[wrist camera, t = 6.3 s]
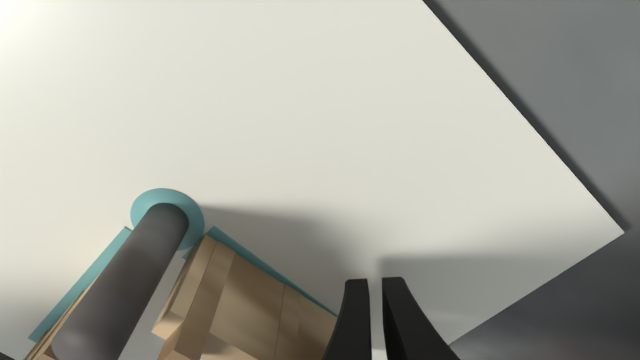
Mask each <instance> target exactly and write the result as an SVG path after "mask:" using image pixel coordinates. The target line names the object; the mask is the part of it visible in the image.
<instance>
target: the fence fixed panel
mask: <svg viewBox="0 0 640 360" xmlns="http://www.w3.org/2000/svg"><path fill="white" fill-rule="evenodd" d="M188 228H189V220H188V217H187V215H186V214H185V212H184V211H183V210H182V209H181V208H179V207H178V206H176V205H173V204H170V203H157V204H155V205H153V206H151V207H150V208H149V209H148V211H147V212H146V213H145V215H144V216H143V217H142V219H141V220H140V221H139V223H138V224H137V225H136V227H135V228H134V229H133V231H132V232H131V233H130V235H129V236H128V238H127V239H126V240H125V242H124V243H123V244H122V246H121V247H120V248H119V250H118V251H117V252H116V254H115V255H114V256H113V257H112V259H111V260H110V261H109V263H108V264H107V265H106V267H105V268H104V269H103V271H102V272H101V273H100V274H99V275H98V276H97V277H96V278H95V279H94V281H93V282H92V283H91V284H90V285H89V286H88V287H87V288H86V290H85V291H84V290H83V291H82V292H81V293H80V294H79V295H78V296H77V297H76V299H75V300H74V301H73V302H72V303H71V305H70V306H69V307H68V309H67V310H66V311H65V313H64V314H63V315H62V316H61V317H60V319H59V320H58V321H57V322H56V323H55V324H54V325H53V326H52V327H51V329H50V330H49V331H46V332H45V333H44V334H43V335H42V337H41V338H40V339H39V340H38V341H37V343H36V344H35V345H34V346H33V348H32V349H31V350H30V352H29V353H28V354H27V355H26V357H25V358H24V359H23V360H118V359H119V357H120V355H121V353H122V351H123V349H124V347H125V346H126V344H127V342H128V340H129V338H130V336H131V334H132V333H133V331H134V329H135V327H136V325H137V323H138V321H139V320H140V318H141V316H142V314H143V312H144V310H145V308H146V307H147V305H148V303H149V301H150V299H151V297H152V295H153V294H154V292H155V290H156V288H157V286H158V284H159V282H160V281H161V279H162V277H163V275H164V273H165V271H166V269H167V267H168V266H169V264H170V262H171V260H172V258H173V256H174V254H175V253H176V251H177V249H178V247H179V245H180V243H181V241H182V240H183V238H184V236H185V234H186V232H187V230H188Z"/></svg>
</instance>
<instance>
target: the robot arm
mask: <svg viewBox="0 0 640 360" xmlns="http://www.w3.org/2000/svg"><path fill="white" fill-rule="evenodd" d="M382 314H383V331H384V339H385V347H386V355H387V360H460V359H459V358H458V357H457V356H456V354H455V353H454V352H453V351H452V350H451V348H450V347H449V346H448V345H447V343H446V342H445V341H444V340H443V339H442V337H441V336H440V335H439V333H438V332H437V331H436V329H435V328H434V327H433V325H432V324H431V322H430V321H429V320H428V318H427V317H426V315H425V314H424V312H423V311H422V309H421V308H420V306H419V305H418V303H417V302H416V300H415V298H414V297H413V295H412V293H411V292H410V290H409V288H408V286H407V284H406V282H405V280H404V279H403V278H402V277H384V278H382ZM321 360H372V343H371V318H370V294H369V287H368V281H367V278H365V279H348V280H347V281H346V282H345V289H344V295H343V300H342V304H341V308H340V312H339V315H338V318H337V321H336V324H335V327H334V330H333V333H332V336H331V338H330V340H329V343H328V345H327V348H326V350H325V353H324V355H323V357H322V359H321Z"/></svg>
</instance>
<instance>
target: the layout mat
mask: <svg viewBox="0 0 640 360" xmlns="http://www.w3.org/2000/svg"><path fill="white" fill-rule="evenodd" d="M157 203H170V204H173V205H176V206H178V207H179V208H181V209H182V210H183V211H184V212H185V214H186V215H187V217H188V220H189V228H188V230H187V232H186V234H185V236H184V238H183V240H182V241H181V243H180V245H179V247H178V249H177V251H176V253H175V254H174V256H173V258H172V260H171V262H170V264H169V266H168V267H167V269H166V271H165V273H164V275H163V277H162V279H161V281H160V282H159V284H158V286H157V288H156V290H155V292H154V294H153V295H152V297H151V299H150V301H149V303H148V305H147V307H146V308H145V310H144V312H143V314H142V316H141V318H140V320H139V321H138V323H137V325H136V327H135V329H134V331H133V333H132V334H131V336H130V338H129V340H128V342H127V344H126V346H125V347H124V349H123V351H122V353H121V355H120V357H119V359H118V360H157V358H158V356H159V353H160V351H161V349H162V346H163V344H164V342H165V339H163V338H161V337H159V336H157V335H155V334H154V333H152V332H151V331H152V329H153V327H154V325H155V323H156V321H157V318H158V316H159V314H160V312H161V310H162V308H163V306H164V304H165V302H166V300H167V298H168V296H169V294H170V292H171V290H172V288H173V286H174V284H175V282H176V280H177V278H178V275H179V273H180V271H181V269H182V267H183V265H184V263H185V261H186V259H187V257H188V255H189V253H190V252H191V250H192V249H193V248H194V247H195V246H196V245H197V243H198V242H199V241H200V240H201V239H202V238H203V236H204V235H205V234H207V235H208V236H210V237H211V238H213V239H214V240H216V241H220V242H222V243H223V244H225V245H226V246H228V247H229V248H231V249H233V250H234V251H236V252H235V253H237V254H238V255H240V256H241V257H243V258H244V259H246V260H248V261H249V262H251V263H252V264H254V265H255V266H257V267H259V268H260V269H262V270H263V271H265V272H266V273H268V274H270V275H271V276H273V277H274V278H276V279H277V280H279V281H281V282H282V283H284V284H285V283H286V284H287V285H289V286H291V287H292V288H294V289H295V290H297V291H298V292H300V293H301V295H303V296H304V297H306V298H307V299H309V300H310V301H312V302H314V303H315V304H317V305H318V306H320V307H321V308H323V309H325V310H326V311H328V312H329V313H331V314H332V315H334V316H336V317H337V318H338V315H339V312H340V308H341V304H342V300H343V295H344V289H345V282H346V281H347V280H348V279H365V278H367V281H368V287H369V294H370V318H371V343H372V360H387V355H386V347H385V339H384V331H383V314H382V278H384V277H402V278H403V279H404V280H405V282H406V284H407V286H408V288H409V290H410V292H411V293H412V295H413V297H414V298H415V300H416V302H417V303H418V305H419V306H420V308H421V309H422V311H423V312H424V314H425V315H426V317H427V318H428V320H429V321H430V322H431V324H432V325H433V327H434V328H435V329H436V331H437V332H438V333H439V335H440V336H441V337H442V339H443V340H444V341H445V342H446V343H447V345H449V344H450V343H452V342H453V341H455V340H456V339H458V338H460V337H461V336H463V335H464V334H466V333H467V332H469V331H471V330H472V329H474V328H475V327H477V326H478V325H480V324H482V323H483V322H485V321H486V320H488V319H490V318H491V317H493V316H494V315H496V314H497V313H499V312H501V311H502V310H504V309H505V308H507V307H508V306H510V305H512V304H513V303H515V302H516V301H518V300H519V299H521V298H523V297H524V296H526V295H527V294H529V293H531V292H532V291H534V290H535V289H537V288H538V287H540V286H542V285H543V284H545V283H546V282H548V281H549V280H551V279H553V278H554V277H556V276H557V275H559V274H560V273H562V272H564V271H565V270H567V269H568V268H570V267H572V266H573V265H575V264H576V263H578V262H579V261H581V260H583V259H584V258H586V257H587V256H589V255H590V254H592V253H594V252H595V251H597V250H598V249H600V248H601V247H603V246H605V245H606V244H608V243H609V242H611V241H613V240H614V239H616V238H617V237H619V236H620V235H622V234H624V231H623V230H622V229H621V228H620V227H619V226H618V225H617V223H616V222H615V221H614V220H613V219H612V218H611V217H610V215H609V214H608V213H607V212H606V211H605V210H604V208H603V207H602V206H601V205H600V204H599V203H598V202H597V200H596V199H595V198H594V197H593V196H592V195H591V194H590V192H589V191H588V190H587V189H586V188H585V187H584V186H583V184H582V183H581V182H580V181H579V180H578V179H577V177H576V176H575V175H574V174H573V173H572V172H571V171H570V169H569V168H568V167H567V166H566V165H565V164H564V163H563V161H562V160H561V159H560V158H559V157H558V156H557V155H556V153H555V152H554V151H553V150H552V149H551V148H550V147H549V145H548V144H547V143H546V142H545V141H544V140H543V138H542V137H541V136H540V135H539V134H538V133H537V132H536V130H535V129H534V128H533V127H532V126H531V125H530V124H529V122H528V121H527V120H526V119H525V118H524V117H523V116H522V114H521V113H520V112H519V111H518V110H517V109H516V107H515V106H514V105H513V104H512V103H511V102H510V101H509V99H508V98H507V97H506V96H505V95H504V94H503V93H502V91H501V90H500V89H499V88H498V87H497V86H496V85H495V83H494V82H493V81H492V80H491V79H490V78H489V77H488V75H487V74H486V73H485V72H484V71H483V70H482V68H481V67H480V66H479V65H478V64H477V63H476V62H475V60H474V59H473V58H472V57H471V56H470V55H469V54H468V52H467V51H466V50H465V49H464V48H463V47H462V46H461V44H460V43H459V42H458V41H457V40H456V39H455V37H454V36H453V35H452V34H451V33H450V32H449V31H448V29H447V28H446V27H445V26H444V25H443V24H442V23H441V21H440V20H439V19H438V18H437V17H436V16H435V15H434V13H433V12H432V11H431V10H430V9H429V8H428V7H427V5H426V4H425V3H424V2H423V1H422V0H0V352H1V353H3V354H5V355H7V356H9V357H11V358H13V359H15V360H23V359H24V358H25V357H26V355H27V354H28V353H29V352H30V350H31V349H32V348H33V346H34V345H35V344H36V343H37V341H38V340H39V339H40V338H41V337H42V335H43V334H44V333H45V332H46V331H49V330H50V329H51V327H52V326H53V325H54V324H55V323H56V322H57V321H58V320H59V319H60V317H61V316H62V315H63V314H64V313H65V311H66V310H67V309H68V307H69V306H70V305H71V303H72V302H73V301H74V300H75V299H76V297H77V296H78V295H79V294H80V293H81V292H82V291H83V290H84V291H85V290H86V288H87V287H88V286H89V285H90V284H91V283H92V282H93V281H94V279H95V278H96V277H97V276H98V275H99V274H100V273H101V272H102V271H103V269H104V268H105V267H106V265H107V264H108V263H109V261H110V260H111V259H112V257H113V256H114V255H115V254H116V252H117V251H118V250H119V248H120V247H121V246H122V244H123V243H124V242H125V240H126V239H127V238H128V236H129V235H130V233H131V232H132V231H133V229H134V228H135V227H136V225H137V224H138V223H139V221H140V220H141V219H142V217H143V216H144V215H145V213H146V212H147V211H148V209H149V208H150V207H151V206H153V205H155V204H157ZM200 360H202V359H200Z"/></svg>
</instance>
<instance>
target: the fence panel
mask: <svg viewBox="0 0 640 360" xmlns="http://www.w3.org/2000/svg"><path fill="white" fill-rule="evenodd" d="M235 252H236V251H234V250H233V249H231V248H229V247H228V246H226V245H225V244H223V243H222V242H220V241H216V240H214V239H213V238H211V237H210V236H208V235H207V234H205V235H204V236H203V238H202V239H201V240H200V241H199V242H198V243H197V245H196V246H195V247H194V248H193V249H192V250H191V252H190V253H189V255H188V257H187V259H186V261H185V263H184V265H183V267H182V269H181V271H180V273H179V275H178V278H177V280H176V282H175V284H174V286H173V288H172V290H171V292H170V294H169V296H168V298H167V300H166V302H165V304H164V306H163V308H162V310H161V312H160V314H159V316H158V318H157V321H156V323H155V325H154V327H153V329H152V331H151V332H152V333H154V334H155V335H157V336H159V337H161V338H163V339H165V342H164V344H163V346H162V349H161V351H160V353H159V356H158V358H157V360H200V359H202V360H321V359H322V357H323V355H324V353H325V350H326V348H327V345H328V343H329V340H330V338H331V336H332V333H333V330H334V327H335V324H336V321H337V317H336V316H334V315H332V314H331V313H329V312H328V311H326V310H325V309H323V308H321V307H320V306H318V305H317V304H315V303H314V302H312V301H310V300H309V299H307V298H306V297H304V296H303V295H301V293H300V292H298V291H297V290H295V289H294V288H292V287H291V286H289V285H287V284H286V283H285V284H284V283H282V282H281V281H279V280H277V279H276V278H274V277H273V276H271V275H270V274H268V273H266V272H265V271H263V270H262V269H260V268H259V267H257V266H255V265H254V264H252V263H251V262H249V261H248V260H246V259H244V258H243V257H241V256H240V255H238V254H237V253H235Z"/></svg>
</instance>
